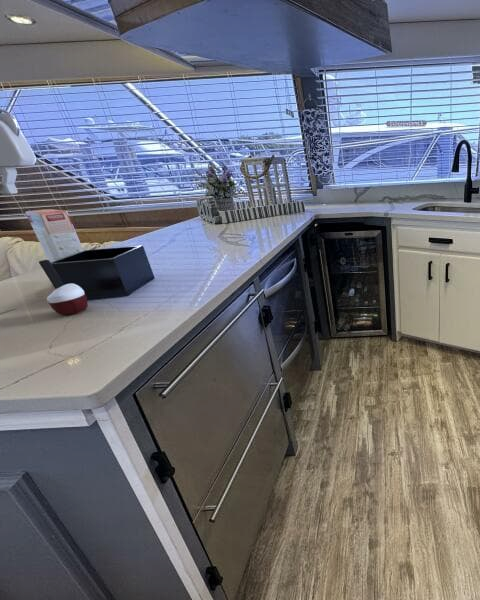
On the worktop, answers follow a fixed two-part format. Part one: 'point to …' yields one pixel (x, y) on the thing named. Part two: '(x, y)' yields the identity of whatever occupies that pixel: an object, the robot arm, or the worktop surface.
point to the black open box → (106, 271)
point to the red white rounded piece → (64, 293)
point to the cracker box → (55, 233)
